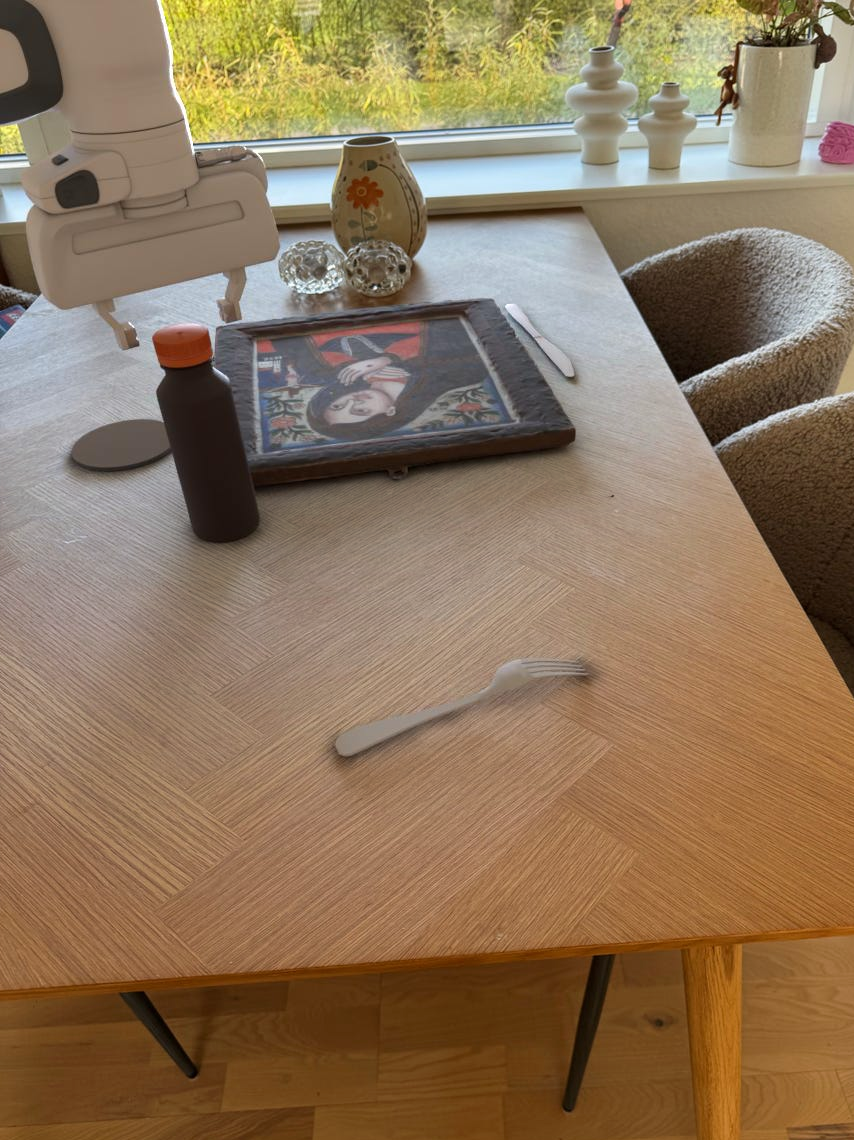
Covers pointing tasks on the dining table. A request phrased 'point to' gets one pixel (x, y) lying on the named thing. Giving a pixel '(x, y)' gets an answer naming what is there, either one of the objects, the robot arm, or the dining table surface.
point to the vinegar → (204, 435)
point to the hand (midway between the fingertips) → (181, 333)
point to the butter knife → (542, 341)
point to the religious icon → (385, 390)
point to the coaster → (122, 445)
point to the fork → (453, 703)
